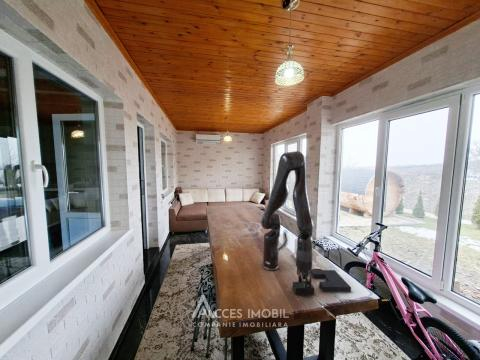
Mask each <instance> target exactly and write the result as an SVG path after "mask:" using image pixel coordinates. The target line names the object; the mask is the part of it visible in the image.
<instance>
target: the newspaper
mask: <svg viewBox="0 0 480 360" xmlns="http://www.w3.org/2000/svg"><path fill="white" fill-rule="evenodd" d="M291 256H292V257H293V258H294V259H295V260H296V252H293V253H291ZM311 270H324V268H323V267H322V266H321V265H320V264H319V262H317V261H316V260H315V259H313V258H312V269H311ZM311 270H309V271H308V272H309V273H311Z"/></svg>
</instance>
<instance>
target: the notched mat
mask: <svg viewBox="0 0 480 360" xmlns="http://www.w3.org/2000/svg"><path fill="white" fill-rule="evenodd" d="M310 275H311V276H312V277H311V278H313V279H321V280H322V279H323V280H325V281H319V282H318V287H319V289H320V290H321V291H322V292H323V293H351V292H352V287H351V286H350V284H349V283H348V282H347V281H346V280H345V279H344V278H343V277H342V275H340V274H339V273H338V272H337V271H336V270H335V269H322V270H311V271H310Z"/></svg>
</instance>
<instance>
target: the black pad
mask: <svg viewBox="0 0 480 360" xmlns="http://www.w3.org/2000/svg"><path fill="white" fill-rule="evenodd" d="M292 290H293V293H294V295H295V296H304V295H303V283H302V282H298V281H292ZM314 295H315V286H314V285H313V284H312V283H311V289H308V296H314Z"/></svg>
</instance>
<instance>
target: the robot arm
mask: <svg viewBox="0 0 480 360" xmlns="http://www.w3.org/2000/svg"><path fill="white" fill-rule="evenodd" d="M306 171H307V169H306V160H305V155H304V154H303V153H302V152H301V151H297V150H295V151H288V152H284V153H282V154H281V156H280V157H279V161H278V165H277V170H276V175H275V178H274V182H273V185H272V188H271V191H270V196H269V198H268V201H267V204H266V206H265V209H264V212H263V213H262V215H261V220H260V222H261V223H260V224H261V227H262V228H263V229H264V230H269V231H267V232H265V233H264V234H263V248H262V249H263V250H262V251H263V252H262V256H263V257H262V267H263V268H264V269H265V270H268V271H276V270H278V269H279V253H280V252H279V250H280V249H282V248H283V247H284V246H285V245H286V244H287V241H288V237H287V234H286V231H284V237H285V241H284V243H283V244H282V245H280V236H281V225H282V224H281V223H282V221H281V220H282V219H281V216H280V214H279V213H276V212H277V211H278V210H280V209H281V208H282V207H283V206H284V205H285V204H286V203H287V200H288V198H289V195H290V187H289V185H288V178H289V176H290V173H292V172H294V175H295V180H294V186H293V189H292V202H293V208H294V211H295V218H296V220H295V221H296V227H297V229H298V233H297V241H296V243H297V244H296V252H295V253H296V259H295V266H296V276H297V280H298V281H297V282H302V283H303V295H302V296H304V297H305V296H306V297H308V296H309V295H308V289H311V284H312V277H311V276H310V272H308V271H309V270H311V269H312V259H313V231H314V221H313V219H312V215H311V209H310V201H309V197H308V192H307V172H306Z"/></svg>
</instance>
